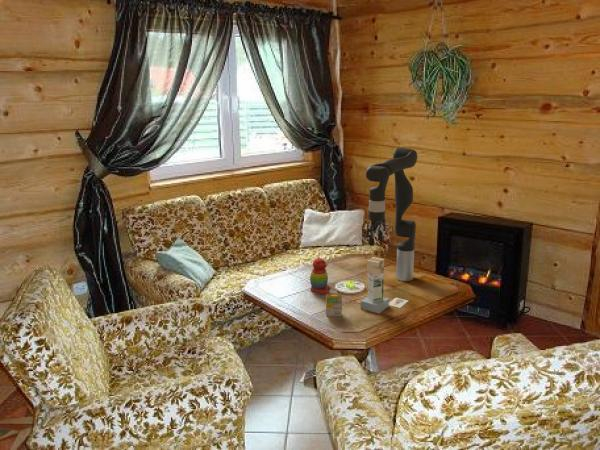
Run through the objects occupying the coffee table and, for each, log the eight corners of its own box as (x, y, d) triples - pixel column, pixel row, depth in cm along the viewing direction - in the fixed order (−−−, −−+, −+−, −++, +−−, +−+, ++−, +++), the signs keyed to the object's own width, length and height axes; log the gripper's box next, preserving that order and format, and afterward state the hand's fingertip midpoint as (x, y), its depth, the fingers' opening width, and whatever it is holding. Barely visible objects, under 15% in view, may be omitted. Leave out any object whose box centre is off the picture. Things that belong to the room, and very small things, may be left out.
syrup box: (372, 302, 240) (373, 274, 236) (367, 297, 246) (367, 269, 242) (383, 300, 242) (384, 272, 238) (377, 296, 247) (378, 268, 243)
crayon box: (341, 313, 239) (341, 290, 236) (342, 316, 236) (342, 293, 233) (326, 313, 238) (325, 291, 235) (326, 316, 236) (326, 293, 232)
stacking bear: (327, 295, 260) (327, 262, 255) (308, 293, 262) (308, 261, 257) (330, 287, 270) (330, 255, 265) (312, 285, 272) (311, 254, 267)
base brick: (370, 301, 251) (370, 294, 250) (388, 306, 245) (388, 298, 244) (360, 308, 243) (360, 301, 242) (379, 313, 238) (379, 305, 236)
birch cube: (372, 268, 243) (373, 256, 242) (383, 271, 240) (384, 259, 238) (366, 272, 239) (366, 260, 237) (377, 274, 235) (378, 262, 234)
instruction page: (395, 297, 255) (395, 297, 255) (408, 300, 251) (408, 300, 251) (386, 304, 247) (386, 304, 247) (400, 308, 243) (400, 307, 243)
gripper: (376, 213, 223) (376, 248, 228) (391, 207, 234) (390, 240, 239) (362, 211, 228) (361, 245, 232) (376, 205, 239) (375, 238, 243)
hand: (376, 243), depth 235 cm, fingers open, 8 cm apart
